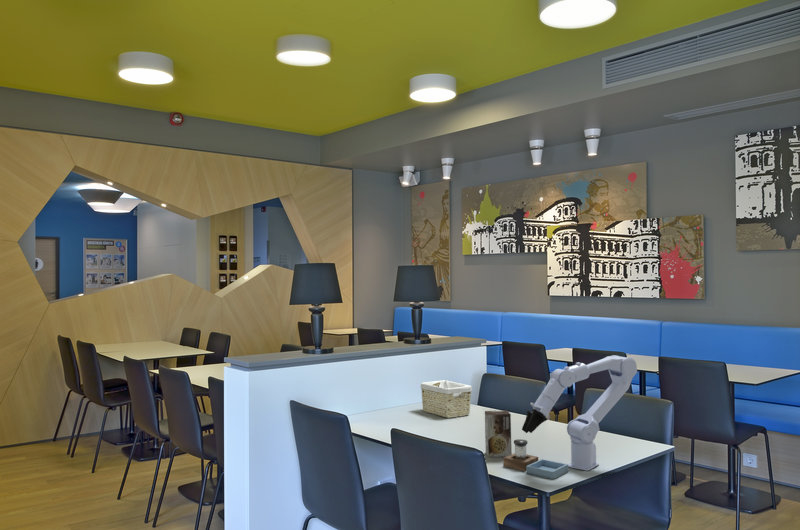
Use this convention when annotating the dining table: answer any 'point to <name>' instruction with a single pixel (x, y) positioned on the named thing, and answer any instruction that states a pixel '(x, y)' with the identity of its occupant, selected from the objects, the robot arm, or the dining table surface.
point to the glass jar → (520, 449)
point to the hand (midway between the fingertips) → (526, 431)
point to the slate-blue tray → (547, 469)
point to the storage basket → (446, 398)
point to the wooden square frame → (518, 462)
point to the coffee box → (498, 433)
